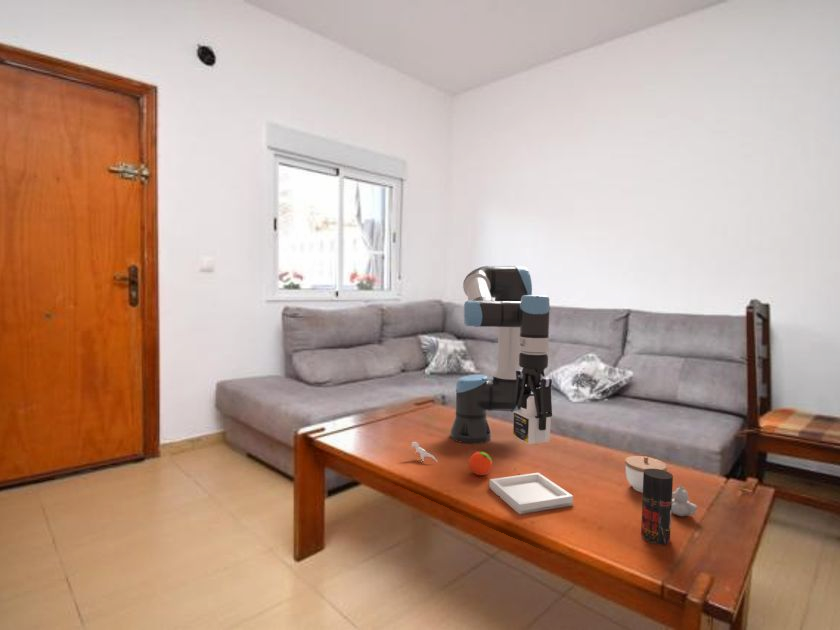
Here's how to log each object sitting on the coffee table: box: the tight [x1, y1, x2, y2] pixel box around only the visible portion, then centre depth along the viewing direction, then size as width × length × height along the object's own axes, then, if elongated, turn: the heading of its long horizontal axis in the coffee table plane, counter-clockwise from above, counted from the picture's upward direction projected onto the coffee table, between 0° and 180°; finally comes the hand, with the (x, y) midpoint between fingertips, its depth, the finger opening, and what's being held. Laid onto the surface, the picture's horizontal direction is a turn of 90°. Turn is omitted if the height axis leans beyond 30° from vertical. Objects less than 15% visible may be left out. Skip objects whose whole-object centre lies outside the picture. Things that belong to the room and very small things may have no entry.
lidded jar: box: [624, 455, 668, 494], centre depth 131 cm, size 11×11×9 cm
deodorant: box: [640, 469, 674, 546], centre depth 105 cm, size 6×6×15 cm
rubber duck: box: [671, 484, 698, 517], centre depth 116 cm, size 5×7×8 cm
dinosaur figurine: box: [410, 441, 439, 463], centre depth 151 cm, size 15×12×6 cm
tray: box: [489, 472, 574, 515], centre depth 126 cm, size 16×16×2 cm
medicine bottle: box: [512, 393, 552, 445], centre depth 125 cm, size 7×7×12 cm
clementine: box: [468, 450, 493, 476], centre depth 140 cm, size 8×7×7 cm
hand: (531, 436), depth 125 cm, fingers closed on medicine bottle, 7 cm apart
